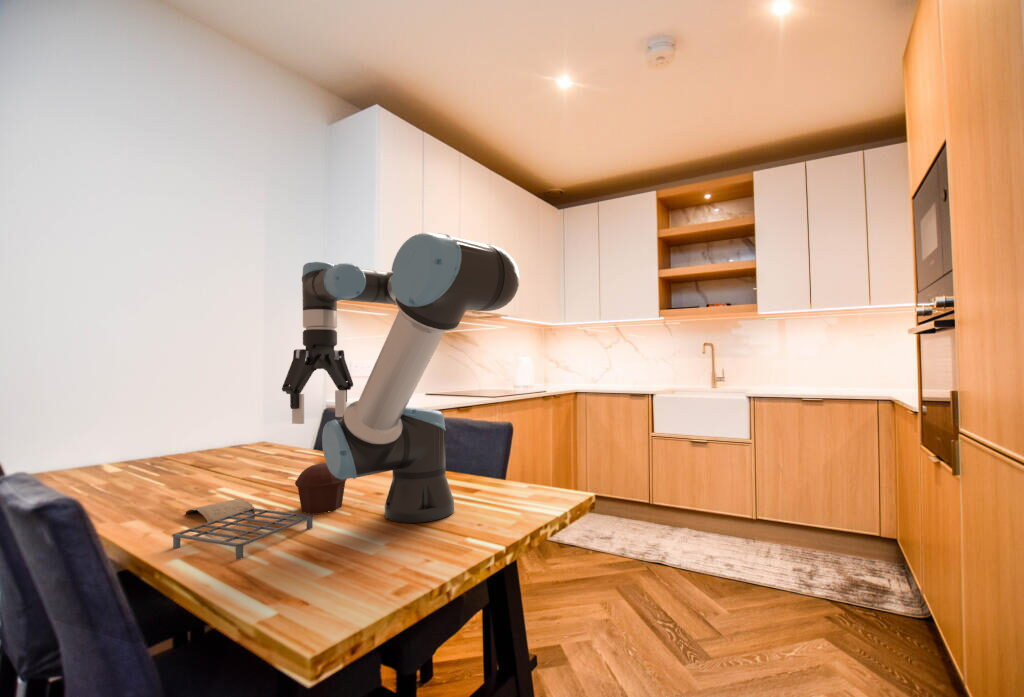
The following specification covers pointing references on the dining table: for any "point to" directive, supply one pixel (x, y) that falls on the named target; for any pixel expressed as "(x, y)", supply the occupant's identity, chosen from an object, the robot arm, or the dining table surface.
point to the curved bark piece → (222, 509)
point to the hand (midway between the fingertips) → (320, 420)
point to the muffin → (319, 489)
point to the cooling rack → (250, 518)
